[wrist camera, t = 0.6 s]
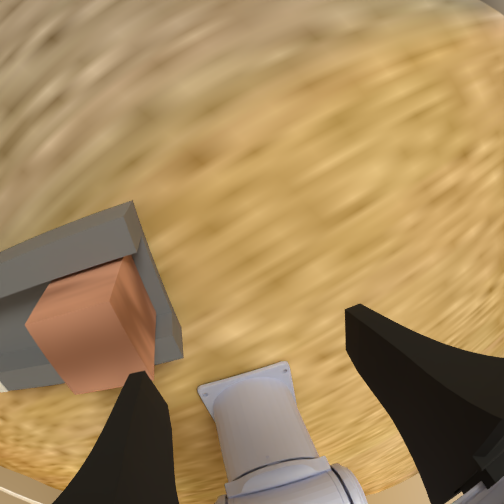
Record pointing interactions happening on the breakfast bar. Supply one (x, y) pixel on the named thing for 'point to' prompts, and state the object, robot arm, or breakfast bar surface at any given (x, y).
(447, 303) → the breakfast bar surface
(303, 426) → the robot arm
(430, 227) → the breakfast bar surface
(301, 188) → the breakfast bar surface
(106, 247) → the chute
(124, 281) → the block
